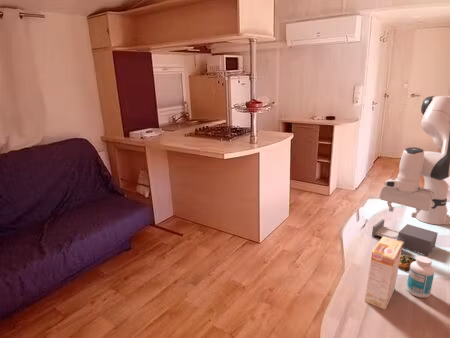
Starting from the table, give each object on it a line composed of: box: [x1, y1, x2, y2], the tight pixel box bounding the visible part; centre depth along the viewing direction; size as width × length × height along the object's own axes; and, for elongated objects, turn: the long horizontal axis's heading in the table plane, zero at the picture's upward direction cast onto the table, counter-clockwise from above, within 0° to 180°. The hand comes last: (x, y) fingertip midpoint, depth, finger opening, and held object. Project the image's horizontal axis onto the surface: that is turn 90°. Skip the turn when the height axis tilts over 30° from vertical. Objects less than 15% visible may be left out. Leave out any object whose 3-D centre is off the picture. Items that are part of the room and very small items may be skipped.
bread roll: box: [398, 254, 416, 273], centre depth 131 cm, size 11×11×5 cm
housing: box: [398, 223, 439, 257], centre depth 147 cm, size 13×13×7 cm
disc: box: [390, 237, 405, 246], centre depth 143 cm, size 6×6×2 cm
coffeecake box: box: [364, 236, 403, 310], centre depth 109 cm, size 15×7×20 cm, turn 141°
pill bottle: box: [406, 255, 435, 299], centre depth 112 cm, size 8×7×14 cm
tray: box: [371, 218, 400, 238], centre depth 155 cm, size 13×13×6 cm
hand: (402, 214), depth 139 cm, fingers open, 8 cm apart
